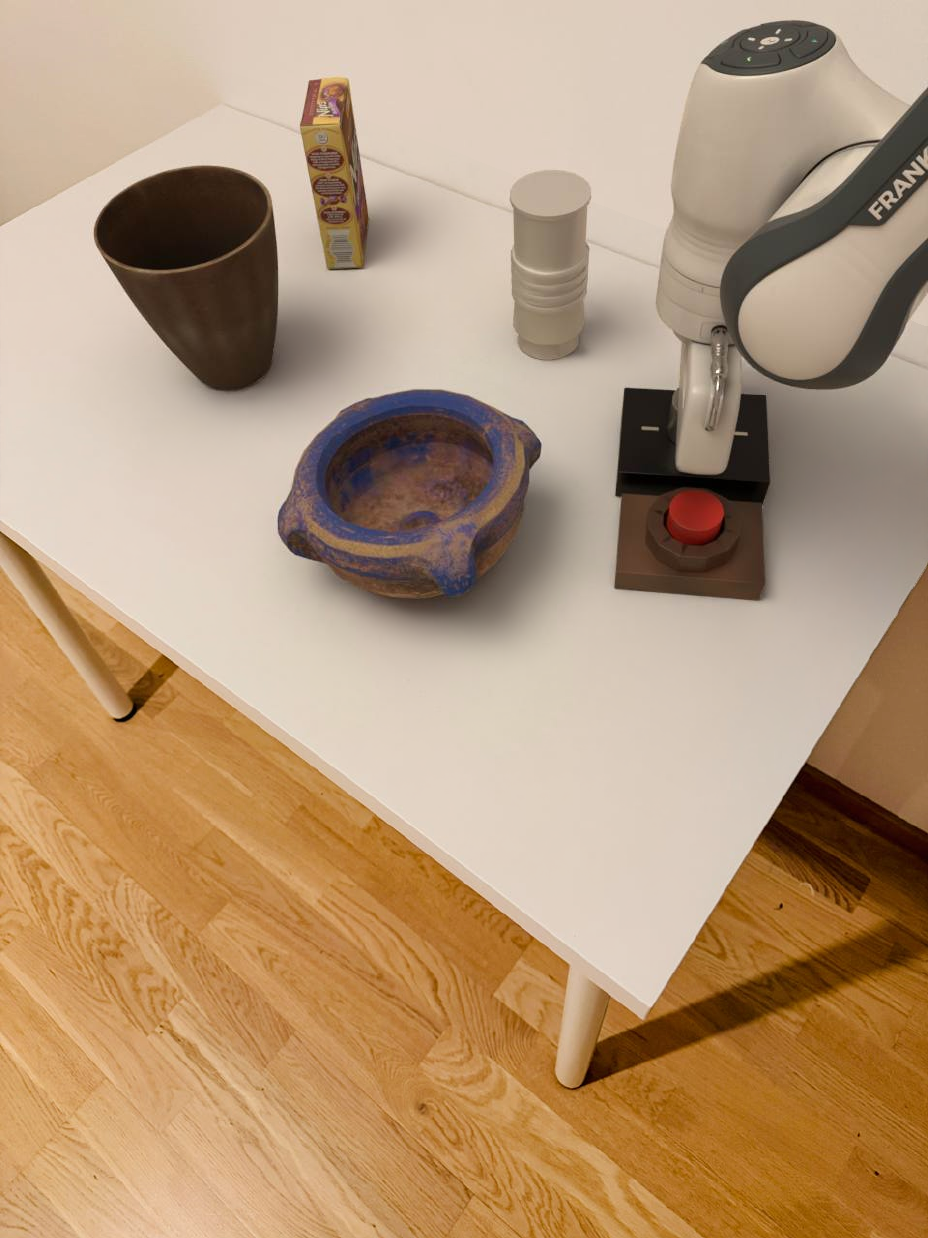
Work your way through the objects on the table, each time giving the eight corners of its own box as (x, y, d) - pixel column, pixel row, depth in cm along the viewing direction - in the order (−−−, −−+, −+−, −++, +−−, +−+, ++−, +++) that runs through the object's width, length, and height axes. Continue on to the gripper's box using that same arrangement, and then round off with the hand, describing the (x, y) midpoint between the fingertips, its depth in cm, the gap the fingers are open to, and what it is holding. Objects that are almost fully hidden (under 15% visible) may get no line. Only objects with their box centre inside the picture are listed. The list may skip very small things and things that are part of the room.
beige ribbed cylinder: (596, 351, 86) (606, 203, 73) (528, 371, 85) (526, 224, 73) (568, 308, 90) (573, 161, 77) (502, 327, 89) (497, 181, 76)
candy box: (367, 268, 96) (340, 123, 83) (327, 271, 96) (294, 126, 83) (372, 219, 101) (348, 74, 88) (334, 221, 101) (305, 77, 88)
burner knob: (669, 410, 77) (675, 375, 73) (722, 415, 76) (730, 380, 73) (664, 448, 74) (670, 413, 71) (719, 453, 74) (727, 419, 70)
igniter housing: (756, 520, 73) (767, 486, 70) (759, 600, 69) (770, 569, 66) (620, 510, 75) (623, 477, 72) (614, 588, 71) (617, 557, 67)
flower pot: (342, 348, 89) (308, 195, 75) (238, 442, 82) (180, 292, 69) (234, 299, 94) (184, 147, 81) (128, 383, 88) (55, 234, 75)
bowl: (376, 440, 81) (358, 351, 73) (562, 497, 76) (565, 408, 68) (270, 590, 73) (236, 509, 64) (472, 665, 68) (463, 587, 59)
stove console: (759, 420, 79) (767, 392, 77) (762, 506, 74) (771, 480, 71) (621, 412, 81) (624, 385, 79) (614, 496, 76) (617, 470, 73)
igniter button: (720, 506, 70) (723, 491, 68) (720, 547, 68) (724, 532, 66) (667, 503, 70) (670, 487, 69) (665, 543, 68) (668, 528, 67)
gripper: (771, 390, 57) (731, 529, 69) (766, 203, 68) (733, 350, 80) (669, 384, 58) (647, 522, 70) (681, 200, 69) (660, 346, 81)
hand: (693, 428), depth 75 cm, fingers open, 5 cm apart
